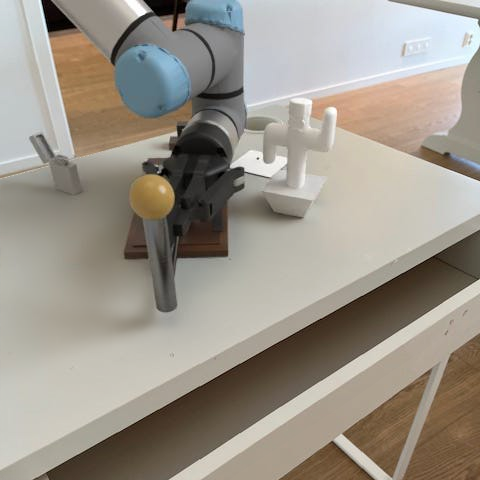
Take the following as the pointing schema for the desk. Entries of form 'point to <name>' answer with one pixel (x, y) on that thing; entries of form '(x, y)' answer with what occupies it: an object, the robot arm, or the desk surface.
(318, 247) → the desk surface
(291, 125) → the figurine
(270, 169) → the white piece
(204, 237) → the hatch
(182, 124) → the keeper
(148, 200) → the bolt
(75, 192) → the lighter
